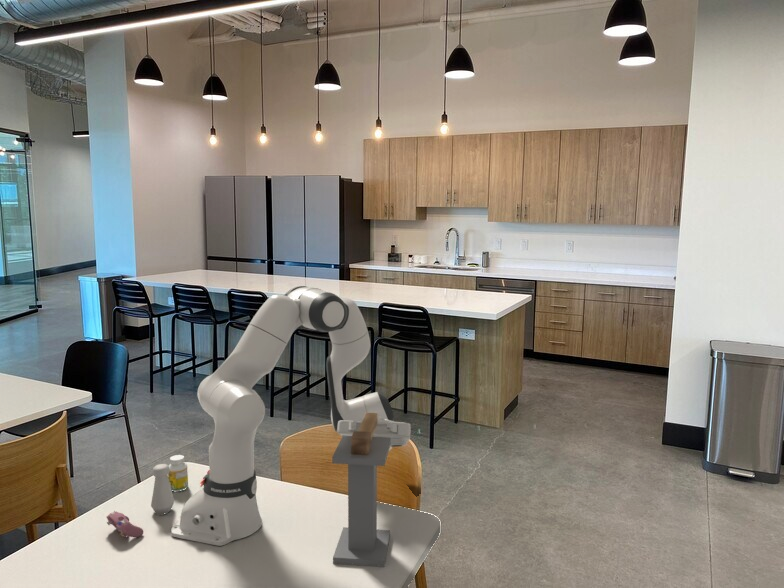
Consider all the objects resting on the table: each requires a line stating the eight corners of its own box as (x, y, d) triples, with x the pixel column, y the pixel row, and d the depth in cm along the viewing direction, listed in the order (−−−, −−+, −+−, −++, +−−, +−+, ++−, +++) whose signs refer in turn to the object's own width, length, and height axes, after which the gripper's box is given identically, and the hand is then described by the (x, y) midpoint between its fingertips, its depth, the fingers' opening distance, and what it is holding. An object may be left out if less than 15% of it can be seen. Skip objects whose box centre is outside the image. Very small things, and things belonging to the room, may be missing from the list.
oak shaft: (351, 454, 130) (351, 437, 130) (364, 423, 150) (364, 408, 149) (368, 455, 130) (368, 438, 129) (379, 423, 149) (379, 409, 149)
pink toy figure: (113, 533, 147) (99, 515, 144) (129, 519, 150) (115, 501, 146) (130, 548, 140) (115, 529, 137) (146, 533, 143) (132, 515, 140)
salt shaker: (166, 517, 151) (163, 471, 150) (147, 515, 153) (144, 469, 151) (178, 506, 157) (176, 462, 155) (160, 504, 158) (157, 460, 156)
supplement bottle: (190, 489, 167) (189, 458, 166) (171, 494, 164) (170, 463, 163) (185, 482, 172) (183, 452, 170) (166, 487, 168) (165, 456, 167)
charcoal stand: (333, 563, 132) (332, 457, 128) (343, 532, 145) (343, 435, 141) (384, 566, 131) (384, 459, 127) (390, 535, 144) (390, 437, 140)
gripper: (342, 420, 164) (333, 411, 152) (412, 423, 162) (409, 414, 150) (340, 442, 162) (331, 435, 149) (411, 446, 160) (408, 439, 147)
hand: (371, 425), depth 150 cm, fingers open, 8 cm apart
